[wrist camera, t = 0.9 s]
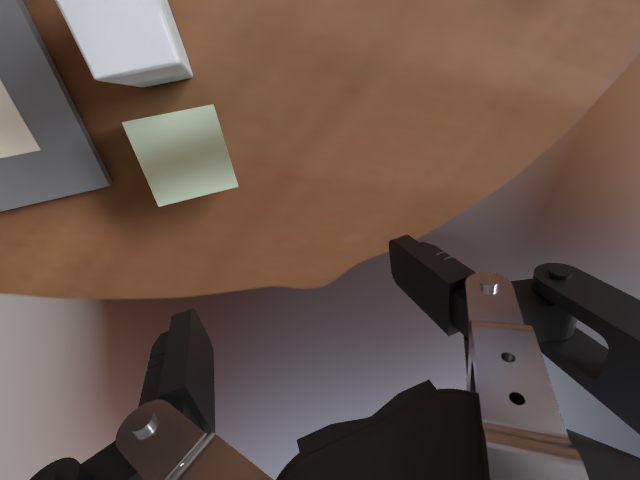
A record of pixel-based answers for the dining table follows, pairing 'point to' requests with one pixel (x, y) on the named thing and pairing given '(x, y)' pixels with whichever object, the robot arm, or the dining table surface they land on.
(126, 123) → the green block
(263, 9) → the dining table surface
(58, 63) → the dining table surface
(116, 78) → the skincare box
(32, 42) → the base plate
